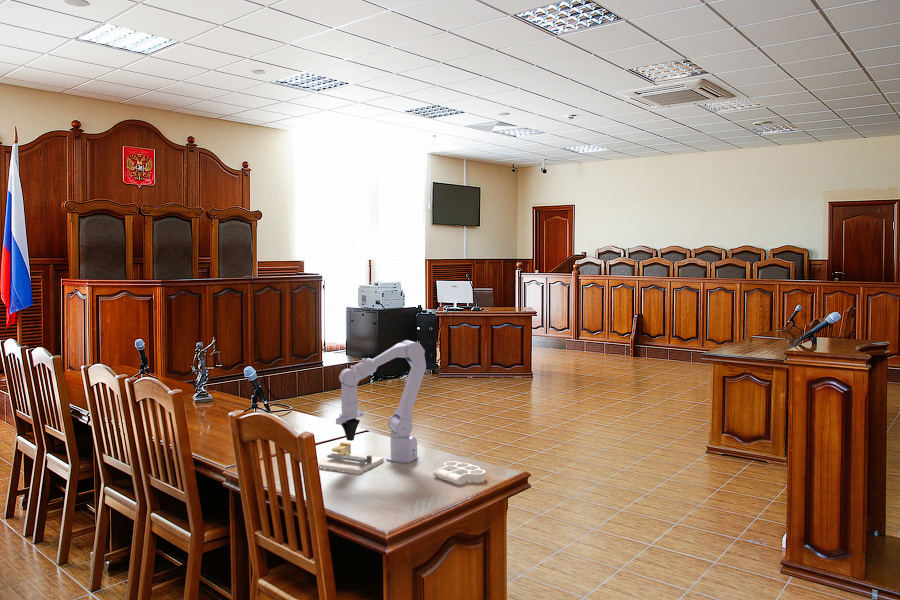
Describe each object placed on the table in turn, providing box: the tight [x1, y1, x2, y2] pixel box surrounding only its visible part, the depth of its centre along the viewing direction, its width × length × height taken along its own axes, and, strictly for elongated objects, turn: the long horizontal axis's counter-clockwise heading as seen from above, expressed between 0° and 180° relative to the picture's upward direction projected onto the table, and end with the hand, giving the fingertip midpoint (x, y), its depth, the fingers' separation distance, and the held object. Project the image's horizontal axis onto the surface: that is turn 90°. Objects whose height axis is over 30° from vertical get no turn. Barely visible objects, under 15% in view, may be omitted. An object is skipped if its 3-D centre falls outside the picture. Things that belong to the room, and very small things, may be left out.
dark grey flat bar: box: [326, 452, 370, 463], centre depth 236 cm, size 16×3×1 cm, turn 64°
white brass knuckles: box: [433, 460, 487, 486], centre depth 223 cm, size 3×18×15 cm
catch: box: [331, 441, 352, 455], centre depth 244 cm, size 4×6×4 cm, turn 154°
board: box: [317, 452, 385, 475], centre depth 238 cm, size 20×16×4 cm
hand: (350, 440), depth 236 cm, fingers closed
